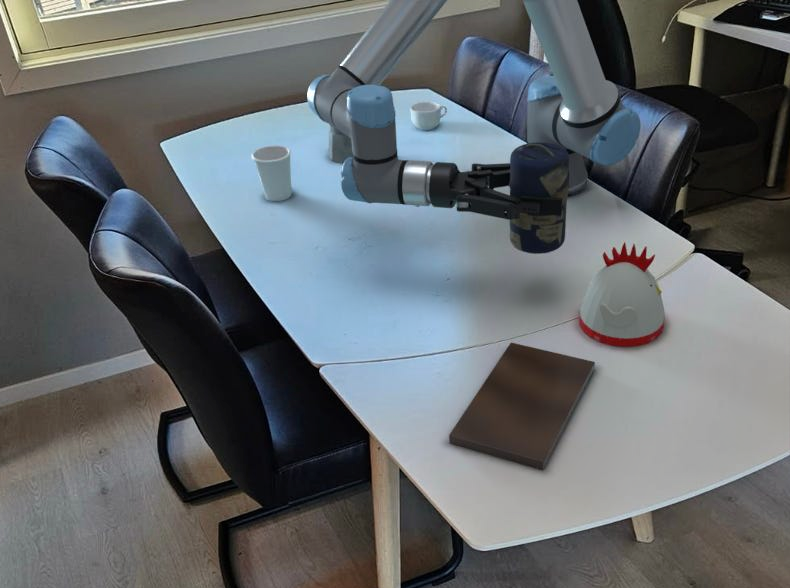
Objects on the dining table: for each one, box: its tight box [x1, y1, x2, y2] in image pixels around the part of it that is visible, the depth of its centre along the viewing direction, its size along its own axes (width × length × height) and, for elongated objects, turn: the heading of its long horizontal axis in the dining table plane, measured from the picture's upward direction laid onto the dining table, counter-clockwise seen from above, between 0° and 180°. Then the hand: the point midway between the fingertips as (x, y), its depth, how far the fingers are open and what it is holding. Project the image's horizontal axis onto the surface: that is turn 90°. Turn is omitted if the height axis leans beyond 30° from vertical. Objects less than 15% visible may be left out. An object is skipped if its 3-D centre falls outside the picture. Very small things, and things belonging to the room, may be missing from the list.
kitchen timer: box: [578, 241, 665, 348], centre depth 136 cm, size 14×14×15 cm
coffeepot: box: [327, 123, 353, 164], centre depth 197 cm, size 15×9×18 cm, turn 44°
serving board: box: [448, 342, 596, 471], centre depth 124 cm, size 24×14×2 cm, turn 155°
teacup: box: [409, 100, 448, 131], centre depth 213 cm, size 10×8×5 cm
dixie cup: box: [251, 144, 292, 202], centre depth 182 cm, size 8×8×10 cm
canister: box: [508, 142, 569, 255], centre depth 138 cm, size 10×10×18 cm
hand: (565, 192), depth 137 cm, fingers closed on canister, 9 cm apart
